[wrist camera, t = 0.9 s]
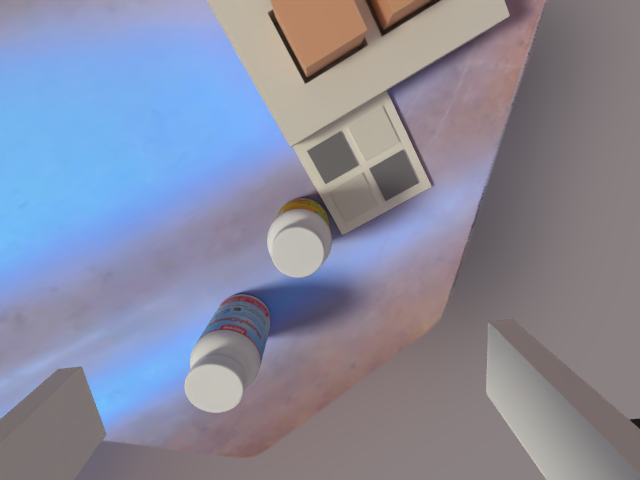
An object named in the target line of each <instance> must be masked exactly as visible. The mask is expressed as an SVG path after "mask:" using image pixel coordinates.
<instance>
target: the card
mask: <svg viewBox="0 0 640 480" xmlns="http://www.w3.org/2000/svg"><path fill="white" fill-rule="evenodd" d="M293 149H294V150H295V152H296V154H297V156H298V157H299V159H300V161H301V163H302V165H303V166H304V168H305V170H306V172H307V173H308V175H309V177H310V179H311V180H312V182H313V184H314V186H315V187H316V189H317V191H318V193H319V195H320V196H321V198H322V200H323V202H324V203H325V205H326V207H327V209H328V210H329V212H330V214H331V216H332V217H333V219H334V221H335V223H336V225H337V226H338V228H339V230H340V232H341V233H342V235H344V234H346V233H348V232H350V231H351V230H353V229H355V228H357V227H359V226H361V225H362V224H364V223H366V222H368V221H370V220H372V219H373V218H375V217H377V216H379V215H381V214H383V213H384V212H386V211H388V210H390V209H392V208H394V207H395V206H397V205H399V204H401V203H403V202H404V201H406V200H408V199H410V198H412V197H414V196H415V195H417V194H419V193H421V192H423V191H425V190H426V189H428V188H430V187H432V186H431V184H430V182H429V180H428V178H427V176H426V173H425V171H424V169H423V167H422V165H421V163H420V161H419V158H418V156H417V154H416V152H415V150H414V148H413V146H412V143H411V141H410V139H409V137H408V135H407V133H406V131H405V129H404V126H403V124H402V122H401V120H400V118H399V116H398V114H397V111H396V109H395V107H394V105H393V103H392V101H391V99H390V96H389V94H388V92H387V91H385V92H384V93H382V94H380V95H379V96H377V97H375V98H374V99H372V100H370V101H369V102H367V103H365V104H364V105H362V106H360V107H358V108H357V109H355V110H353V111H352V112H350V113H348V114H347V115H345V116H343V117H342V118H340V119H338V120H337V121H335V122H333V123H332V124H330V125H328V126H327V127H325V128H323V129H321V130H320V131H318V132H316V133H315V134H313V135H311V136H310V137H308V138H306V139H305V140H303V141H301V142H300V143H298V144H296V145H295V146H293Z"/></svg>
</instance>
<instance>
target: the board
mask: <svg viewBox="0 0 640 480" xmlns="http://www.w3.org/2000/svg"><path fill="white" fill-rule="evenodd" d="M207 2H208V3H209V5H210V7H211V9H212V10H213V12H214V14H215V16H216V17H217V19H218V21H219V23H220V24H221V26H222V28H223V30H224V32H225V33H226V35H227V37H228V39H229V40H230V42H231V44H232V46H233V47H234V49H235V51H236V53H237V54H238V56H239V58H240V60H241V61H242V63H243V65H244V67H245V68H246V70H247V72H248V74H249V75H250V77H251V79H252V81H253V83H254V84H255V86H256V88H257V90H258V91H259V93H260V95H261V97H262V98H263V100H264V102H265V104H266V105H267V107H268V109H269V111H270V112H271V114H272V116H273V118H274V119H275V121H276V123H277V125H278V126H279V128H280V130H281V132H282V134H283V135H284V137H285V139H286V141H287V142H288V144H289V146H290V147H293V146H295V145H296V144H298V143H300V142H301V141H303V140H305V139H306V138H308V137H310V136H311V135H313V134H315V133H316V132H318V131H320V130H321V129H323V128H325V127H327V126H328V125H330V124H332V123H333V122H335V121H337V120H338V119H340V118H342V117H343V116H345V115H347V114H348V113H350V112H352V111H353V110H355V109H357V108H358V107H360V106H362V105H364V104H365V103H367V102H369V101H370V100H372V99H374V98H375V97H377V96H379V95H380V94H382V93H384V92H385V91H387V90H389V89H391V88H392V87H394V86H396V85H397V84H399V83H401V82H402V81H404V80H406V79H408V78H409V77H411V76H413V75H414V74H416V73H418V72H419V71H421V70H423V69H424V68H426V67H428V66H429V65H431V64H433V63H434V62H436V61H438V60H439V59H441V58H443V57H445V56H446V55H448V54H450V53H451V52H453V51H455V50H456V49H458V48H460V47H461V46H463V45H465V44H466V43H468V42H470V41H471V40H473V39H475V38H476V37H478V36H480V35H482V34H483V33H485V32H487V31H488V30H490V29H491V28H493V27H494V26H496V25H497V24H499V23H500V22H502V21H503V20H504V19H506V18H507V17H509V16H510V15H509V12H508V9H507V6H506V3H505V0H432V1H430V2H429V3H427V4H425V5H424V6H422V7H421V8H419V9H417V10H416V11H414V12H413V13H411V14H409V15H408V16H406V17H404V18H403V19H401V20H400V21H398V22H396V23H395V24H393V25H392V26H390V27H388V28H387V29H385V30H384V31H383V29H382V27H381V25H380V22H379V20H378V18H377V16H376V13H375V11H374V9H373V7H372V5H371V2H370V0H354V2H355V4H356V6H357V8H358V10H359V12H360V15H361V17H362V19H363V21H364V23H365V25H366V28H367V32H366V35H365V37H364V39H363V41H362V43H361V45H359V46H358V47H356V48H354V49H353V50H351V51H350V52H348V53H346V54H345V55H343V56H342V57H340V58H338V59H337V60H335V61H334V62H332V63H330V64H329V65H327V66H325V67H324V68H322V69H321V70H319V71H317V72H316V73H314V74H313V75H311V76H309V77H308V78H307V77H306V75H305V73H304V71H303V69H302V67H301V65H300V63H299V61H298V59H297V58H296V56H295V54H294V52H293V50H292V48H291V46H290V44H289V42H288V40H287V38H286V37H285V35H284V33H283V31H282V29H281V27H280V25H279V23H278V21H277V19H276V18H275V15H274V11H273V8H272V5H271V1H270V0H207Z"/></svg>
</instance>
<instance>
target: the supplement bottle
mask: <svg viewBox="0 0 640 480" xmlns="http://www.w3.org/2000/svg"><path fill="white" fill-rule="evenodd" d="M267 245H268V250H269V253H270V255H271V257H272V259H273V262H274V264H275V266H276V267H277V268H278V269H279V270H280V271H281V272H282V273H284V274H286V275H288V276H291V277H297V278H300V277H306V276H309V275H311V274H312V273H314V272H315V271H316V270H317V269H318V268H319V267H320V266H321V265H322V264H323V263H324V261H325V260H326V259H327V257H328V255H329V253H330V250H331V245H332V236H331V231H330V226H329V220H328V216H327V214H326V212H325V210H324V209H323V208H322V207H321V205H319V204H318V203H317V202H315V201H313V200H310V199H306V198H298V199H294V200H291V201H289V202H288V203H286V204H285V205H284V206H283V207H282V208H281V210H280V211H279V213H278V214H277V216H276V218H275V220H274V221H273V223H272V225H271V227H270V229H269V232H268V237H267Z"/></svg>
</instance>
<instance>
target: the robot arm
mask: <svg viewBox="0 0 640 480" xmlns="http://www.w3.org/2000/svg"><path fill="white" fill-rule="evenodd" d="M487 352H488V353H487V387H486V394H487V395H488V396H489V398H490V399H491V401H492V402H493V404H494V405H495V407H496V408H497V409H498V411H499V412H500V414H501V415H502V416H503V418H504V419H505V421H506V422H507V424H508V425H509V427H510V428H511V429H512V431H513V432H514V434H515V435H516V437H517V438H518V439H519V441H520V442H521V444H522V445H523V446H524V448H525V449H526V451H527V452H528V454H529V455H530V457H531V458H532V460H533V461H534V462H535V464H536V465H537V467H538V468H539V470H540V471H541V472H542V474H543V475H544V477H545V478H546V480H640V419H631V420H629V419H628V418H626V417H625V416H624V415H623V414H622V413H621V412H620V411H618V410H617V409H616V408H615V407H614V406H613V405H612V404H610V403H609V402H608V401H607V400H606V399H605V398H603V397H602V396H601V395H600V394H599V393H598V392H597V391H595V390H594V389H593V388H592V387H591V386H590V385H588V384H587V383H586V382H585V381H584V380H583V379H582V378H580V377H579V376H578V375H577V374H576V373H575V372H573V371H572V370H571V369H570V368H569V367H568V366H567V365H565V364H564V363H563V362H562V361H561V360H560V359H558V358H557V357H556V356H555V355H554V354H553V353H551V352H550V351H549V350H548V349H547V348H546V347H545V346H543V345H542V344H541V343H540V342H539V341H538V340H536V339H535V338H534V337H533V336H532V335H531V334H530V333H528V332H527V331H526V330H525V329H524V328H523V327H521V326H520V325H519V324H518V323H517V322H516V321H515V320H513V319H505V320H496V321H488V350H487ZM105 436H106V432H105V429H104V426H103V424H102V421H101V418H100V415H99V413H98V410H97V407H96V404H95V402H94V399H93V396H92V394H91V391H90V388H89V385H88V383H87V380H86V377H85V374H84V372H83V369H82V367H73V368H64V369H58V370H57V371H56V372H55V373H53V374H52V375H51V376H50V377H49V378H48V379H46V380H45V381H44V382H43V383H42V384H41V385H40V386H38V387H37V388H36V389H35V390H34V391H33V392H31V393H30V394H29V395H28V396H27V397H26V398H25V399H23V400H22V401H21V402H20V403H19V404H18V405H17V406H15V407H14V408H13V409H12V410H11V411H10V412H8V413H7V414H6V415H5V416H4V417H3V418H2V419H0V480H74V479H75V477H76V476H77V474H78V473H79V472H80V470H81V469H82V468H83V466H84V465H85V463H86V462H87V461H88V459H89V458H90V457H91V455H92V454H93V452H94V451H95V450H96V448H97V447H98V445H99V444H100V443H101V441H102V440H103V439H104V437H105Z"/></svg>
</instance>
